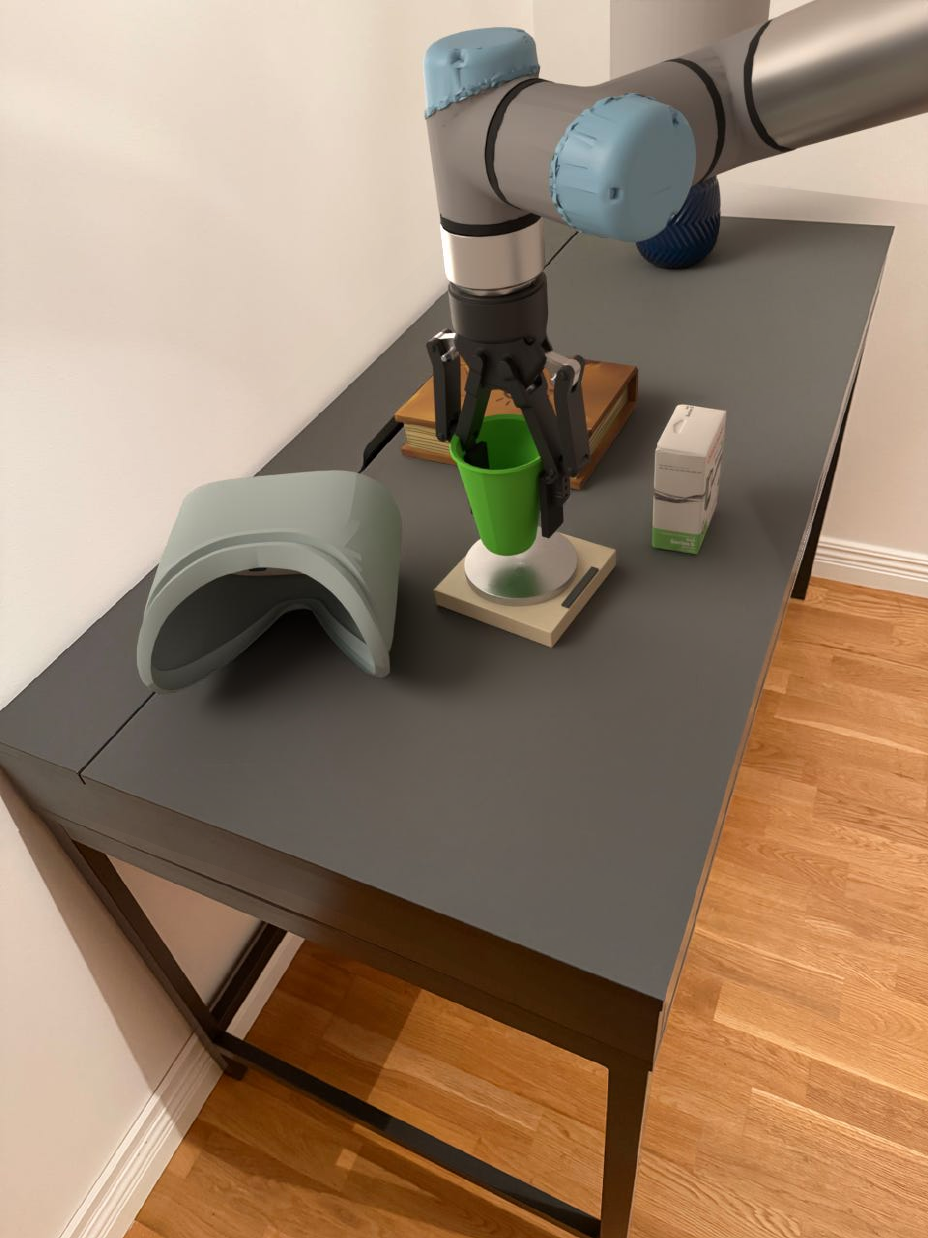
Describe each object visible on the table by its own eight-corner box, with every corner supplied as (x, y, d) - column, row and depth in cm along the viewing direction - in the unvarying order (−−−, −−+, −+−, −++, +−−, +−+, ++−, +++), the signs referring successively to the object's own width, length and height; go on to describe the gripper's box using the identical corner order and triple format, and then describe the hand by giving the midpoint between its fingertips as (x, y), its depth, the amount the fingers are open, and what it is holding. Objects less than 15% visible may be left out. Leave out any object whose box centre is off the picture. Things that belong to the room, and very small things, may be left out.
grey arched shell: (411, 567, 92) (390, 462, 83) (402, 707, 78) (376, 600, 70) (203, 584, 94) (162, 484, 85) (159, 725, 80) (104, 623, 71)
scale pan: (597, 551, 88) (597, 543, 87) (542, 620, 82) (541, 612, 81) (502, 521, 93) (502, 513, 92) (443, 584, 87) (442, 577, 86)
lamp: (584, 273, 139) (580, -11, 114) (648, 226, 150) (657, -44, 124) (705, 296, 129) (730, -10, 104) (764, 244, 140) (800, -46, 114)
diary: (637, 405, 110) (638, 362, 106) (580, 491, 98) (578, 446, 94) (472, 379, 119) (467, 338, 115) (401, 454, 108) (393, 412, 104)
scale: (616, 565, 89) (616, 547, 87) (551, 648, 82) (550, 631, 80) (505, 530, 95) (503, 513, 93) (436, 604, 88) (433, 587, 86)
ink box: (698, 556, 89) (707, 456, 80) (649, 547, 90) (653, 448, 82) (717, 506, 94) (728, 407, 86) (671, 498, 96) (677, 401, 88)
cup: (570, 520, 86) (568, 421, 78) (534, 580, 80) (529, 479, 73) (485, 503, 89) (476, 406, 82) (445, 559, 84) (431, 460, 76)
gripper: (640, 273, 65) (632, 523, 81) (418, 239, 74) (451, 470, 90) (591, 317, 60) (593, 573, 76) (363, 276, 70) (407, 512, 85)
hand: (516, 517), depth 83 cm, fingers closed on cup, 7 cm apart
